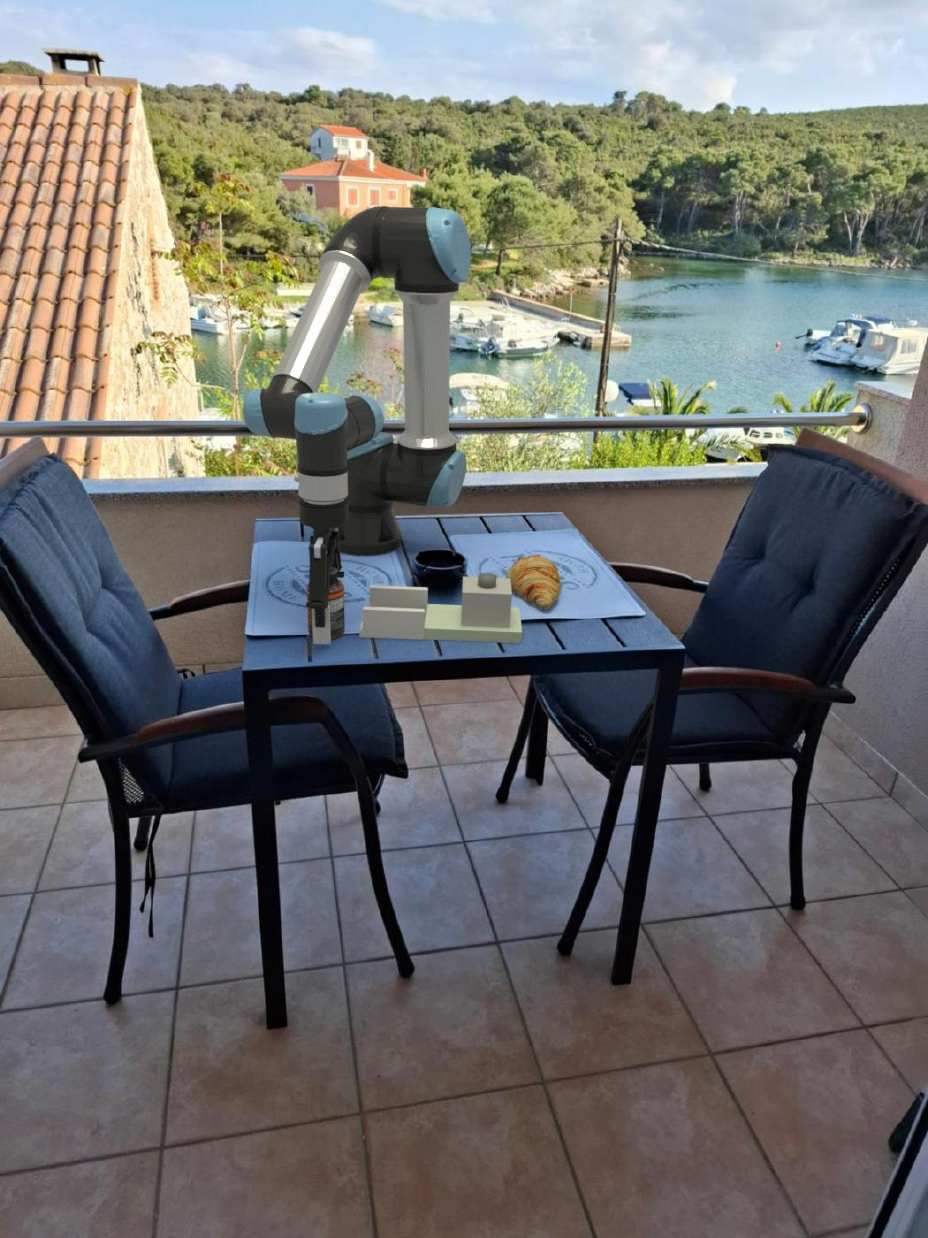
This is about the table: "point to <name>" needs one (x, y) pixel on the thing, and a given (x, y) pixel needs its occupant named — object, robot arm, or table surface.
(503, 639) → the cream block stand
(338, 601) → the supplement bottle
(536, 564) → the croissant
